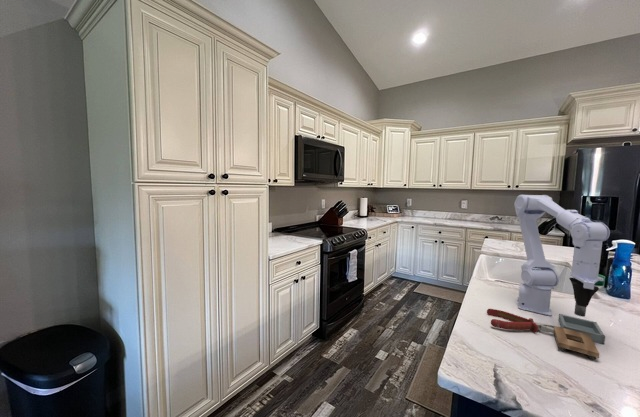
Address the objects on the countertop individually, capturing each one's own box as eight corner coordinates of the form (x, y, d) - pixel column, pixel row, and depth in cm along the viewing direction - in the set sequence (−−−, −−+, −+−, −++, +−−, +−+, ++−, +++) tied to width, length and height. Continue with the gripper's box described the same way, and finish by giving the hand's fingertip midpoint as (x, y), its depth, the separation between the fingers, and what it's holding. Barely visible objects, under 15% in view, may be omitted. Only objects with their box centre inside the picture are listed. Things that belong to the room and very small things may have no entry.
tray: (562, 333, 81) (563, 326, 81) (558, 320, 89) (559, 313, 89) (604, 344, 76) (605, 336, 76) (595, 329, 84) (596, 322, 84)
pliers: (572, 344, 75) (573, 336, 75) (490, 327, 84) (491, 319, 84) (557, 327, 85) (558, 319, 85) (486, 313, 94) (486, 306, 94)
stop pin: (574, 315, 80) (577, 289, 79) (573, 311, 82) (575, 287, 81) (586, 317, 78) (589, 292, 77) (584, 314, 80) (587, 289, 79)
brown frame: (557, 350, 73) (558, 342, 73) (552, 333, 82) (553, 325, 81) (598, 362, 68) (599, 353, 68) (588, 342, 77) (589, 334, 77)
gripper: (612, 270, 70) (606, 317, 71) (598, 258, 81) (593, 299, 83) (576, 265, 74) (571, 309, 76) (568, 254, 86) (564, 293, 87)
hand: (580, 304), depth 80 cm, fingers closed on stop pin, 2 cm apart
